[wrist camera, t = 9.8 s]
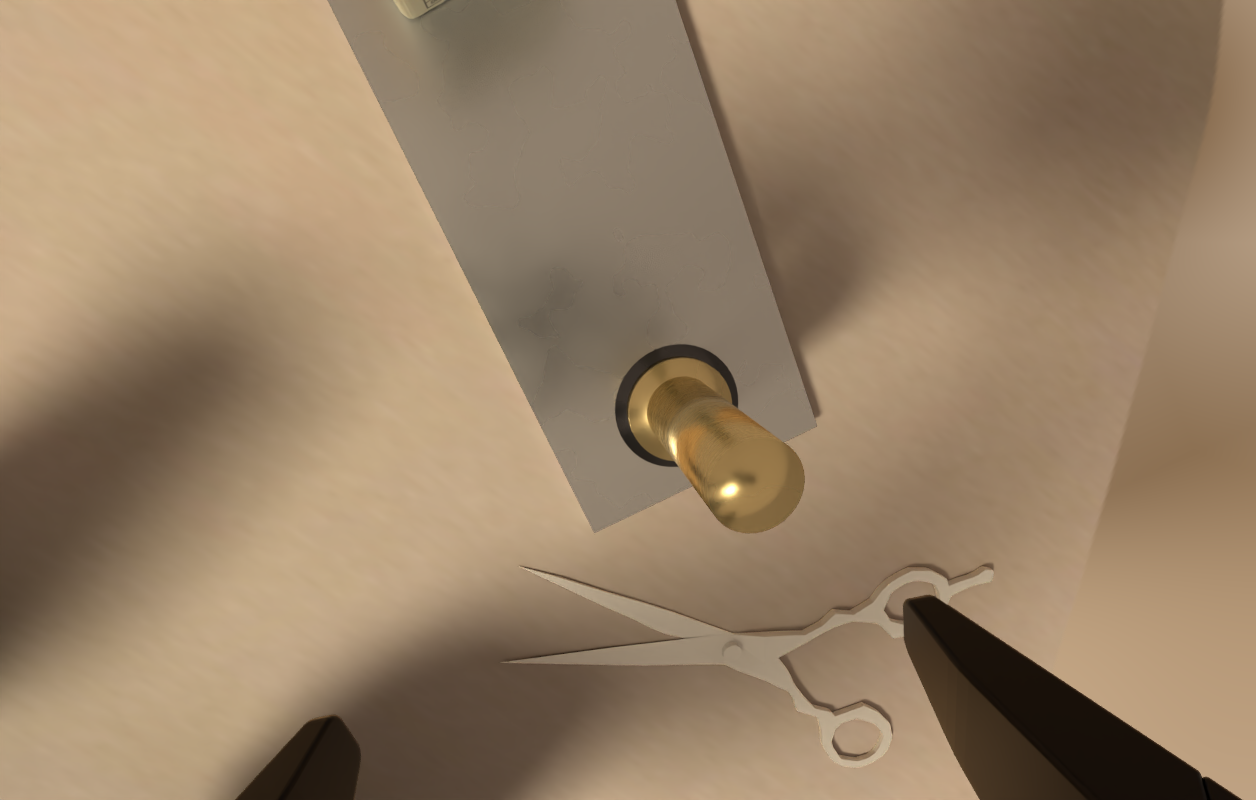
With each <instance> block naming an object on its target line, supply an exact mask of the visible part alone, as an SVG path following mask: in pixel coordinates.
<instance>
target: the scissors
mask: <svg viewBox="0 0 1256 800" xmlns="http://www.w3.org/2000/svg"><path fill="white" fill-rule="evenodd" d="M519 567H520V566H519ZM521 568H523V569H525V570H527V571H529V572H531V573H534V574H536V575H538V576H540V577H542V578H544V579H546V580H548V581H550V582H553V583H555V584H557V585H559V586H561V587H563V588H565V589H567V590H569V591H572V592H574V593H576V594H578V595H580V596H582V597H584V598H586V599H589V600H591V601H593V602H595V603H597V604H599V605H601V606H603V607H606V608H608V609H610V610H613V611H615V612H617V613H620V614H622V615H624V616H626V617H629V618H631V619H633V620H635V621H637V622H639V623H641V624H643V625H645V626H647V627H649V628H651V629H654V630H656V631H658V632H661V633H663V634H667V635H672V636H677V637H681V638H682V639H679V640H671V641H663V642H654V643H646V644H637V645H629V646H620V647H612V648H605V649H597V650H590V651H582V652H575V653H567V654H560V655H552V656H545V657H537V658H530V659H522V660H515V661H507V662H500V663H531V664H577V665H640V666H652V665H726V666H728V667H730V668H732V669H734V670H736V671H738V672H741V673H744V674H747V675H750V676H752V677H755V678H758V679H761V680H764V681H766V682H768V683H770V684H772V685H774V686H776V687H778V688H780V689H783V690H785V691H788V693H789V694H790V695H791V696H792V699H793V704H794V707H795V709H796V711H797V712H800V713H804V714H808V715H811V716H815V717H817V721H818V726H819V737H820V742H821V745H822V746H823V748H824V750H825V751H826V753H827V754H828V756H829V757H830V758H831V760H832V761H833V762H835V763H837V764H839V765H840V766H844V767H852V768H857V767H863V766H866V765H868V764H870V763H872V762H875V761H876V760H878V759H879V758H881V757H882V756H883V755H884V754H885V753H886V751H887V750H888V749H889V746H890V743H891V740H892V732H891V727H890V723H889V722H888V720H887V719H886V718H885V717H884V716H883V715H882V714H881V713H880V712H878V711H877V710H876V709H875V708H873V707H871V706H869V705H867V704H865V703H863V702H859V703H857V704H854V705H851V706H848V707H845V708H843V709H840V710H837V711H834V712H831V711H830V710H829V709H828V708H826V707H822V706H818V705H813V704H812V703H811V702H810V701H809V700H808V699H807V698H806V697H805V696H804V695H803V694H802V693H801V692H800V690H799V689H798V688H797V687H796V685H795V684H794V682H793V680H792V678H791V675H790V673H789V671H788V670H787V668H786V667H785V665H784V664H783V663H782V661H781V660H780V659H779V657H781V656H783V655H785V654H787V653H788V652H790V651H792V650H794V649H796V648H798V647H800V646H802V645H803V644H805V643H807V642H809V641H811V640H812V639H814V638H816V637H818V636H819V635H821V634H823V633H825V632H827V631H829V630H831V629H833V628H835V627H837V626H840V625H844V624H847V623H850V622H865V623H877V624H878V625H880V626H881V627H882V628H883V629H884V630H885V631H886V632H887V633H888V634H889V635H890V636H891V637H892V638H899V637H904V625H903V620H895V619H892V618H888V616H887V614H886V613H885V611H884V608H885V606H886V604H887V602H888V600H889V598H890V595H891V593H892V592H893V591H895V590H896V589H898V588H899V587H901V586H903V585H905V584H907V583H909V582H914V581H922V582H929V583H931V584H933V586H934V588H935V593H936V597H937V598H938V599H940V600H941V601H943V602H944V603H946V604H948V602H949V600H950V598H951V596H953V595H955V594H957V593H959V592H961V591H963V590H965V589H967V588H970V587H972V586H974V585H982V584H985V583H989V582H992V579H993V576H994V572H993V570H992V569H990V568H989V567H985V566H981V567H979V568H978V569H976V570H975V571H973V572H971V573H969V574H967V575H963V576H960V577H957V578H954V579H951V580H949V581H947V579H946V578H945V577H944V576H943V575H941V574H939V573H937V572H935V571H933V570H931V569H929V568H927V567H906V568H904V569H902V570H900V571H898V572H896V573H895V574H893V575H891V576H890V577H888V578H887V579H885V580H884V581H883V582H882V583H881V584H880V585H879V586H878V587H877V588H876V589H875V591H874V592H873V594H872V595H871V596H870V598H869V599H867V600H865V601H864V602H862V603H861V604H859V605H857V606H856V607H854V608H852V609H851V610H838V609H831V610H830V611H829V612H828V613H827V614H826V615H825V616H824V617H823V618H821V619H820V620H819V621H818V622H816V623H814V624H812V625H810V626H808V627H806V628H805V629H803V630H784V631H765V632H746V633H732V632H729V631H726V630H723V629H721V628H718V627H715V626H712V625H709V624H707V623H704V622H701V621H698V620H696V619H693V618H690V617H687V616H684V615H682V614H679V613H676V612H673V611H670V610H667V609H664V608H661V607H658V606H655V605H652V604H649V603H645V602H642V601H639V600H636V599H632V598H629V597H625V596H622V595H618V594H615V593H611V592H608V591H605V590H602V589H598V588H595V587H592V586H589V585H586V584H582V583H579V582H576V581H573V580H570V579H567V578H563V577H560V576H556V575H552V574H549V573H545V572H541V571H537V570H533V569H529V568H524V567H521ZM855 719H859V720H863V721H866V722H869V723H872V724H875V725H876V726H877V727H878V728H879V729H880V733H881V734H880V736H879V738H878V741H877V743H876V744H875V746H874V747H873V749H872V750H870V751H869V752H867V753H866V754H864V755H860V756H857V757H850V756H844V755H838V753H837V752H836V751H835V749H834V748H833V745H832V742H831V741H832V739H833V736H834V733H835V730H836V729H837V728H838V727H839V726H840V725H841V724H842V723H845V722H848V721H852V720H855Z"/></svg>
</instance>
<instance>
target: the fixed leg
mask: <svg viewBox="0 0 1256 800" xmlns="http://www.w3.org/2000/svg"><path fill="white" fill-rule="evenodd" d="M627 419H628V423H629V426H630V429H631V431H632V433H633V435H634V436H635V438H636V439H637V441H638V442H639V444H640V445H641V446H642V447H643V448H644V449H645V450H646V451H648V452H649V453H650V454H652V455H654V456H656V457H658V458H661V459H664V460H669V461H675V463H676V464H677V465H678V467H679V468H680V469H681V471H682V472H683V473H684V475H685V476H686V477H687V479H688V480H689V482H690V483H691V484H692V486H693V487H694V488H695V490H696V491H697V492H698V494H699V495H700V496H701V498H702V499H703V501H704V502H705V503H706V505H707V506H708V507H709V509H710V510H711V511H712V513H713V514H714V515H715V517H716V518H717V519H718V520H719V521H720V522H721V523H722V524H723V525H724V526H726V527H727V528H729V529H731V530H734V531H736V532H741V533H758V532H763V531H766V530H769V529H771V528H773V527H775V526H777V525H779V524H780V523H781V522H783V521H784V520H785V519H786V518H787V517H788V516H789V515H790V514H791V513H792V512H793V511H794V509H795V508H796V506H797V505H798V503H799V501H800V499H801V496H802V493H803V489H804V483H805V476H804V469H803V466H802V463H801V461H800V459H799V457H798V456H797V454H796V453H795V452H794V451H793V450H792V449H791V448H790V447H789V446H788V445H786V444H785V443H784V442H782V441H781V440H780V439H778V438H777V437H776V436H774V435H773V434H772V433H770V432H769V431H768V430H766V429H765V428H764V427H762V426H761V425H759V424H758V423H757V422H755V421H754V420H753V419H751V418H750V417H749V416H747V415H746V414H745V413H743V412H742V411H741V410H739V409H738V408H737V407H735V406H734V405H733V404H732V398H731V393H730V390H729V387H728V385H727V383H726V381H725V380H724V378H723V377H722V376H721V374H720V373H719V372H718V371H716V370H715V369H714V368H713V367H711V366H710V365H708V364H707V363H705V362H703V361H701V360H699V359H696V358H693V357H687V356H674V357H669V358H665V359H662V360H660V361H658V362H656V363H654V364H652V365H651V366H649V367H648V368H647V369H646V370H644V371H643V372H642V373H641V375H640V376H639V377H638V378H637V380H636V381H635V383H634V384H633V386H632V388H631V390H630V393H629V396H628V401H627Z"/></svg>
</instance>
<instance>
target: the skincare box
mask: <svg viewBox="0 0 1256 800" xmlns="http://www.w3.org/2000/svg"><path fill="white" fill-rule="evenodd" d="M393 1H394V2H395V4H396V5H397V7H398V9H399V10H400V12H401V13H402V14H403V15H404V16H406V17H407V18H410V19H414V18H417V17H419V16H421V15H422V14H424V13H426V12H427V11H429V10H430V9H432V8H434V7H436V6H437V5H439V4H441V3H443V2H444V1H446V0H393Z"/></svg>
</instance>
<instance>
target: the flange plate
mask: <svg viewBox="0 0 1256 800" xmlns="http://www.w3.org/2000/svg"><path fill="white" fill-rule="evenodd" d="M328 2H329V4H330V6H331V8H332V10H333V12H334V14H335V16H336V18H337V20H338V22H339V24H340V26H341V28H342V30H343V32H344V34H345V36H346V38H347V40H348V42H349V44H350V46H351V48H352V50H353V52H354V54H355V56H356V58H357V60H358V62H359V64H360V66H361V68H362V70H363V72H364V74H365V76H366V78H367V80H368V82H369V84H370V86H371V88H372V90H373V92H374V94H375V96H376V98H377V100H378V102H379V104H380V106H381V108H382V110H383V112H384V114H385V116H386V118H387V120H388V122H389V124H390V126H391V128H392V130H393V132H394V134H395V136H396V138H397V140H398V142H399V144H400V146H401V148H402V150H403V152H404V154H405V156H406V158H407V160H408V162H409V164H410V166H411V168H412V170H413V172H414V174H415V176H416V178H417V180H418V182H419V184H420V186H421V188H422V190H423V192H424V194H425V196H426V198H427V200H428V202H429V204H430V206H431V208H432V210H433V212H434V214H435V216H436V218H437V220H438V222H439V224H440V226H441V228H442V230H443V232H444V234H445V236H446V238H447V240H448V242H449V244H450V246H451V248H452V250H453V252H454V254H455V256H456V258H457V260H458V262H459V264H460V266H461V268H462V270H463V272H464V274H465V276H466V278H467V280H468V282H469V284H470V286H471V288H472V290H473V292H474V294H475V296H476V298H477V300H478V302H479V304H480V306H481V308H482V310H483V312H484V314H485V316H486V318H487V320H488V322H489V324H490V326H491V328H492V330H493V332H494V334H495V336H496V338H497V340H498V342H499V344H500V346H501V348H502V350H503V352H504V354H505V356H506V358H507V360H508V362H509V364H510V366H511V368H512V370H513V372H514V374H515V376H516V378H517V380H518V382H519V384H520V386H521V388H522V390H523V392H524V394H525V396H526V398H527V400H528V402H529V404H530V406H531V408H532V410H533V412H534V414H535V416H536V418H537V420H538V422H539V424H540V426H541V428H542V430H543V432H544V434H545V436H546V438H547V440H548V442H549V444H550V446H551V448H552V450H553V452H554V454H555V456H556V458H557V460H558V462H559V464H560V466H561V468H562V470H563V472H564V474H565V476H566V478H567V480H568V482H569V484H570V486H571V488H572V490H573V492H574V494H575V496H576V498H577V500H578V502H579V504H580V506H581V508H582V510H583V512H584V514H585V516H586V518H587V520H588V522H589V524H590V526H591V528H592V530H593V532H594V533H596V532H598V531H600V530H602V529H604V528H606V527H608V526H610V525H612V524H615V523H617V522H619V521H621V520H623V519H625V518H627V517H629V516H631V515H633V514H635V513H637V512H640V511H642V510H644V509H646V508H648V507H650V506H652V505H654V504H656V503H658V502H660V501H663V500H665V499H667V498H669V497H671V496H673V495H675V494H677V493H679V492H681V491H683V490H685V489H688V488H690V487H692V484H691V483H690V482H689V480H688V479H687V477H686V476H685V475H684V473H683V472H682V471H681V469H680V468H679V467H678V465H677V464H676V463H675V461H669V460H664V459H661V458H658V457H656V456H654V455H652V454H650V453H649V452H648V451H646V450H645V449H644V448H643V447H642V446H641V445H640V444H639V442H638V441H637V439H636V438H635V436H634V435H633V433H632V431H631V429H630V426H629V423H628V419H627V401H628V396H629V393H630V390H631V388H632V386H633V384H634V383H635V381H636V380H637V378H638V377H639V376H640V375H641V373H642V372H643V371H644V370H646V369H647V368H648V367H649V366H651V365H652V364H654V363H656V362H658V361H660V360H662V359H665V358H669V357H674V356H687V357H693V358H696V359H699V360H701V361H703V362H705V363H707V364H708V365H710V366H711V367H713V368H714V369H715V370H716V371H718V372H719V373H720V374H721V376H722V377H723V378H724V380H725V381H726V383H727V385H728V387H729V390H730V393H731V398H732V404H733V405H734V406H735V407H737V408H738V409H739V410H741V411H742V412H743V413H745V414H746V415H747V416H749V417H750V418H751V419H753V420H754V421H755V422H757V423H758V424H759V425H761V426H762V427H764V428H765V429H766V430H768V431H769V432H770V433H772V434H773V435H774V436H776V437H777V438H778V439H780V440H781V441H782V442H786V441H788V440H790V439H792V438H794V437H796V436H798V435H800V434H802V433H804V432H806V431H808V430H811V429H813V428H815V427H817V424H816V421H815V418H814V415H813V412H812V409H811V406H810V403H809V400H808V397H807V394H806V391H805V388H804V385H803V382H802V379H801V376H800V373H799V370H798V367H797V364H796V361H795V358H794V355H793V352H792V349H791V346H790V343H789V340H788V337H787V334H786V331H785V328H784V325H783V322H782V319H781V316H780V312H779V309H778V306H777V303H776V300H775V297H774V294H773V291H772V288H771V285H770V282H769V279H768V276H767V273H766V270H765V267H764V264H763V261H762V258H761V255H760V252H759V249H758V246H757V243H756V240H755V237H754V234H753V231H752V228H751V225H750V222H749V219H748V216H747V213H746V210H745V207H744V204H743V201H742V198H741V195H740V192H739V189H738V186H737V183H736V180H735V177H734V174H733V171H732V168H731V165H730V162H729V159H728V156H727V153H726V150H725V147H724V144H723V141H722V138H721V135H720V132H719V129H718V126H717V123H716V120H715V117H714V114H713V111H712V108H711V105H710V102H709V99H708V96H707V93H706V90H705V87H704V84H703V81H702V78H701V75H700V72H699V69H698V66H697V63H696V60H695V57H694V54H693V51H692V48H691V45H690V42H689V39H688V36H687V33H686V30H685V27H684V24H683V21H682V18H681V15H680V12H679V9H678V6H677V3H676V0H446V1H444V2H443V3H441V4H439V5H437V6H436V7H434V8H432V9H430V10H429V11H427V12H426V13H424V14H422V15H421V16H419V17H417V18H414V19H410V18H407V17H406V16H404V15H403V14H402V13H401V12H400V10H399V9H398V7H397V5H396V4H395V2H394V1H393V0H328Z"/></svg>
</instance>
